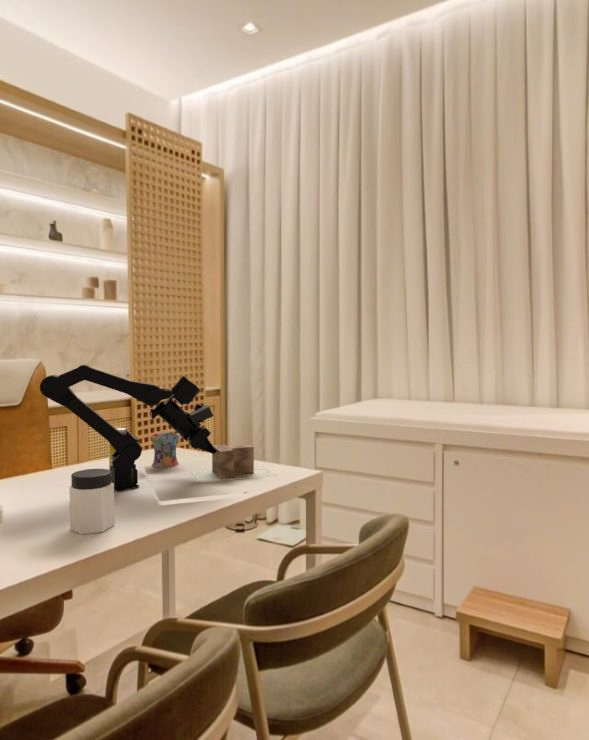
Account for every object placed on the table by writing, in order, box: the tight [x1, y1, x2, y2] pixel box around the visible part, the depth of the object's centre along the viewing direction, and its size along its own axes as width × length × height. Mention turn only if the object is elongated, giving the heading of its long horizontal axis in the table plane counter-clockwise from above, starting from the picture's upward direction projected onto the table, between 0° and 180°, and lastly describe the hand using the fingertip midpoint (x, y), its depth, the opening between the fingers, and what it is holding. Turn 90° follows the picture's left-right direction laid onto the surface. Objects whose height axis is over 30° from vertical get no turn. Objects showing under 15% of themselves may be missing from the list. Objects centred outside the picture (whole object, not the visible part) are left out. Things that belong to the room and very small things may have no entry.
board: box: [191, 465, 276, 484], centre depth 160 cm, size 22×13×1 cm, turn 111°
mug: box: [149, 432, 181, 469], centre depth 174 cm, size 12×9×11 cm
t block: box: [211, 444, 255, 479], centre depth 160 cm, size 11×10×8 cm
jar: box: [68, 468, 116, 535], centre depth 116 cm, size 9×8×12 cm
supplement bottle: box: [108, 427, 128, 469], centre depth 171 cm, size 7×7×13 cm
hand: (215, 452), depth 158 cm, fingers closed, pressing on t block
